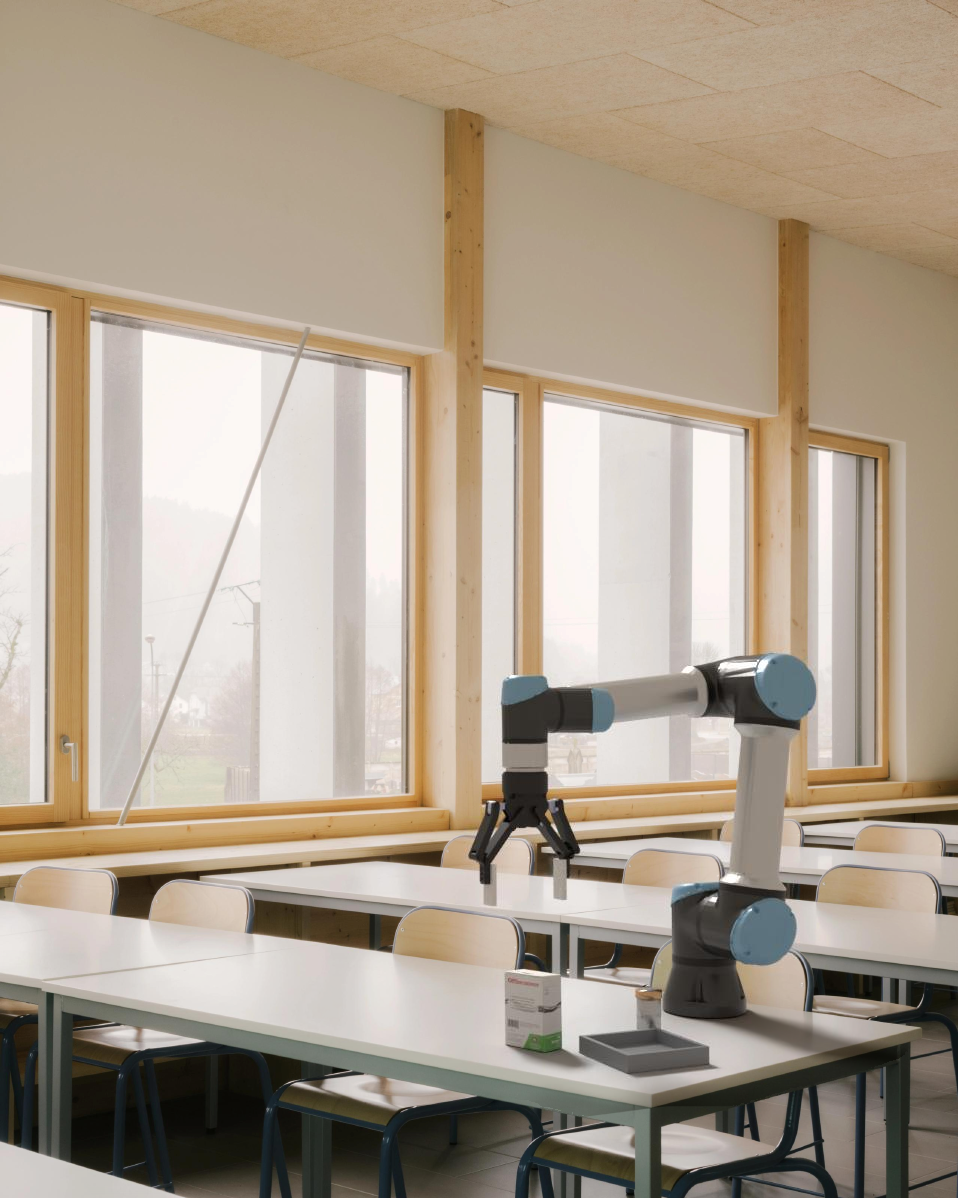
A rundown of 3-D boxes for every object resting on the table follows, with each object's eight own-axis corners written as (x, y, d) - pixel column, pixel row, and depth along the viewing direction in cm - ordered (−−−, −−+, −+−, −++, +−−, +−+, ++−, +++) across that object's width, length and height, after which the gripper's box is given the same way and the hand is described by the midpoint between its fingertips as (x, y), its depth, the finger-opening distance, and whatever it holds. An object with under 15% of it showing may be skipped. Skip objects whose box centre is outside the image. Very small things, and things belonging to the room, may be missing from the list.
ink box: (563, 1048, 225) (563, 973, 226) (543, 1053, 222) (543, 977, 223) (523, 1040, 231) (523, 966, 232) (502, 1045, 228) (503, 970, 229)
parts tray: (657, 1044, 229) (657, 1027, 229) (709, 1064, 216) (709, 1046, 216) (579, 1052, 222) (579, 1035, 223) (627, 1073, 209) (627, 1055, 210)
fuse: (653, 1035, 235) (652, 986, 236) (667, 1040, 231) (667, 991, 232) (630, 1037, 233) (630, 988, 234) (644, 1043, 229) (644, 993, 230)
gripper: (573, 767, 239) (574, 894, 238) (447, 771, 226) (447, 905, 224) (600, 769, 233) (601, 899, 231) (471, 772, 220) (472, 910, 218)
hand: (525, 902), depth 228 cm, fingers open, 13 cm apart
